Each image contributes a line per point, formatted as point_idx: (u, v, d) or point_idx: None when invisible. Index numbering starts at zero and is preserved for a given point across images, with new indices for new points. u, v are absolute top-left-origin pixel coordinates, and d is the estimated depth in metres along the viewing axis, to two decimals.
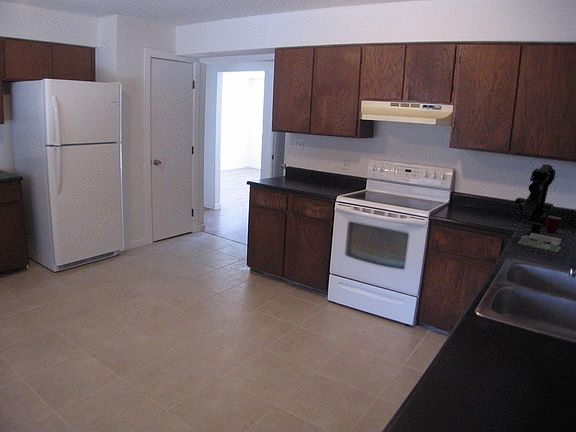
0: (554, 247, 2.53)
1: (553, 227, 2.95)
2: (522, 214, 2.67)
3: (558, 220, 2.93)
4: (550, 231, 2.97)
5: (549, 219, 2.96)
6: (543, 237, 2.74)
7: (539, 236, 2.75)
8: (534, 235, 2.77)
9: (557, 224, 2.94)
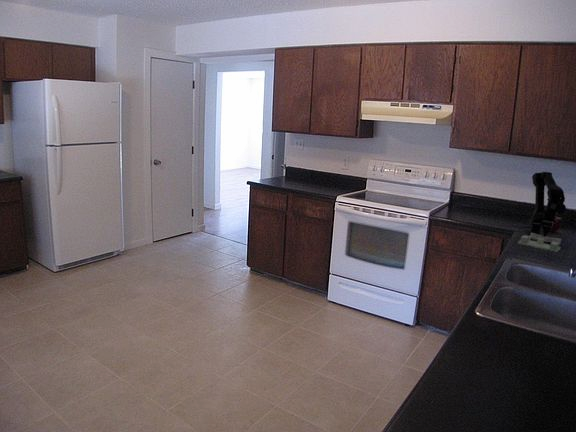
0: (554, 247, 2.53)
1: (553, 227, 2.95)
2: None
3: (558, 220, 2.93)
4: (550, 231, 2.97)
5: None
6: (543, 237, 2.74)
7: (539, 236, 2.75)
8: (534, 235, 2.77)
9: (557, 224, 2.94)
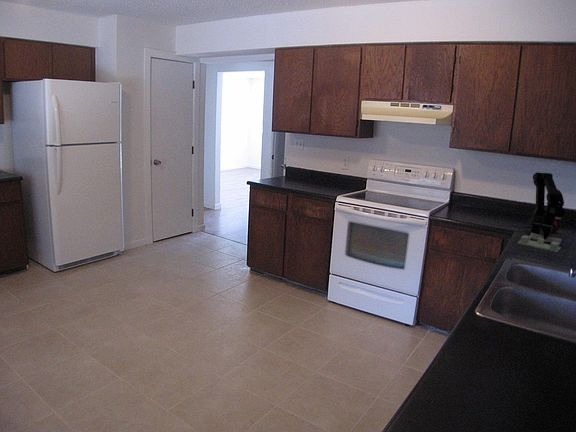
0: (554, 247, 2.53)
1: None
2: None
3: (558, 220, 2.93)
4: None
5: None
6: (543, 237, 2.74)
7: (539, 236, 2.75)
8: (534, 235, 2.77)
9: (557, 224, 2.94)
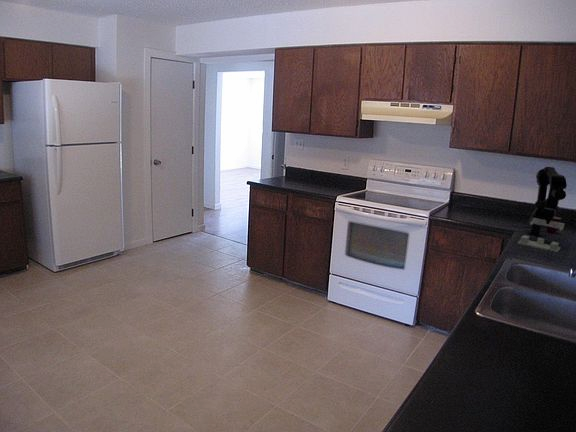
0: (554, 247, 2.53)
1: None
2: None
3: (558, 220, 2.93)
4: (550, 231, 2.97)
5: None
6: None
7: (542, 221, 2.69)
8: (536, 220, 2.70)
9: None
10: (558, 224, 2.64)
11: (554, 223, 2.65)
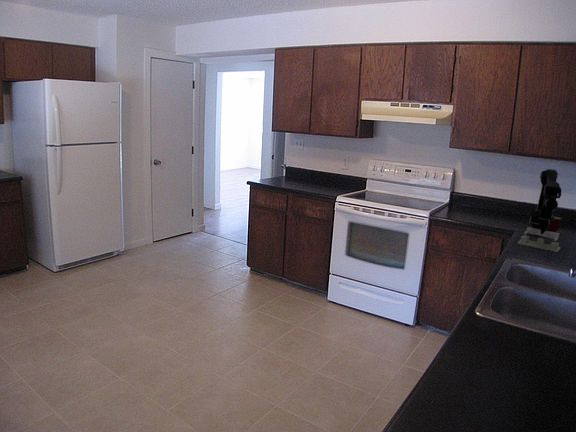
0: (554, 247, 2.53)
1: (553, 227, 2.95)
2: None
3: (558, 220, 2.93)
4: (550, 231, 2.97)
5: None
6: (540, 231, 2.61)
7: (536, 230, 2.62)
8: (531, 229, 2.64)
9: (557, 224, 2.94)
10: (553, 234, 2.57)
11: (549, 233, 2.59)
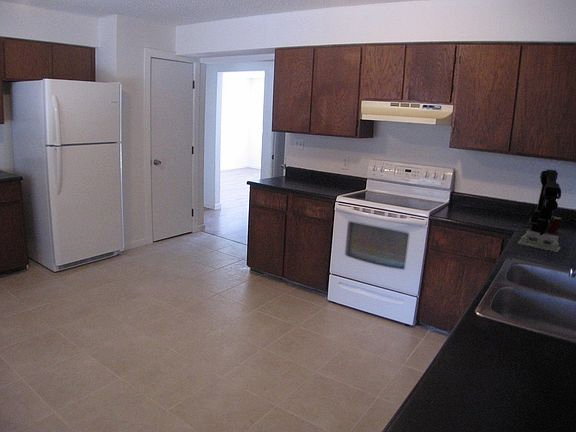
0: (554, 247, 2.53)
1: (553, 227, 2.95)
2: None
3: (558, 220, 2.93)
4: (550, 231, 2.97)
5: None
6: (540, 235, 2.62)
7: (535, 234, 2.63)
8: (530, 233, 2.64)
9: (557, 224, 2.94)
10: (552, 237, 2.58)
11: (548, 236, 2.59)
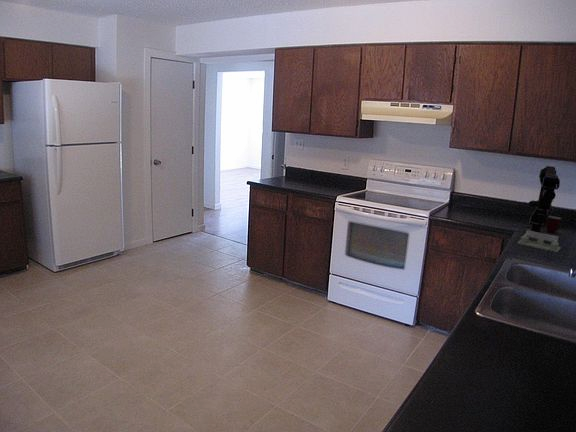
0: (554, 247, 2.53)
1: (553, 227, 2.95)
2: None
3: (558, 220, 2.93)
4: (550, 231, 2.97)
5: (549, 219, 2.96)
6: (540, 235, 2.62)
7: (535, 234, 2.63)
8: (530, 233, 2.64)
9: (557, 224, 2.94)
10: (552, 237, 2.58)
11: (548, 236, 2.59)
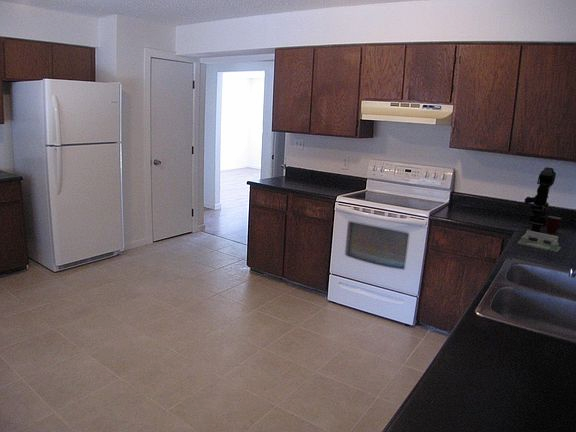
0: (554, 247, 2.53)
1: (553, 227, 2.95)
2: None
3: (558, 220, 2.93)
4: (550, 231, 2.97)
5: (549, 219, 2.96)
6: (540, 235, 2.62)
7: (535, 234, 2.63)
8: (530, 233, 2.64)
9: (557, 224, 2.94)
10: (552, 237, 2.58)
11: (548, 236, 2.59)
